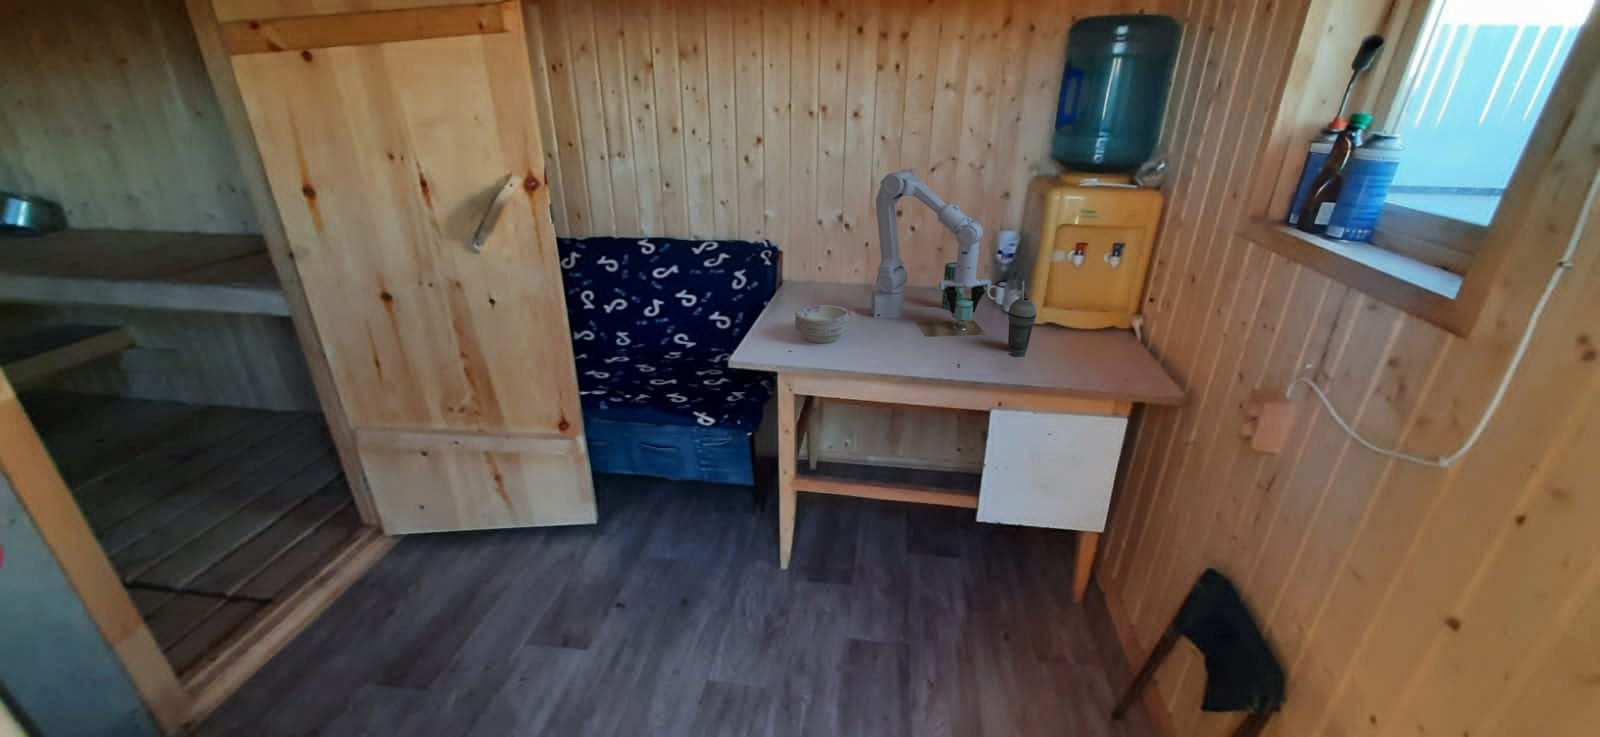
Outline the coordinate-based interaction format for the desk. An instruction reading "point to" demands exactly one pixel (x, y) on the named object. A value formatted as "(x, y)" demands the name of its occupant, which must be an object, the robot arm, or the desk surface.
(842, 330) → the paper bowls
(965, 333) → the board
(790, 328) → the desk surface
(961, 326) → the silver rounded piece
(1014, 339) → the beverage cup
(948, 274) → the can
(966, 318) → the cap
